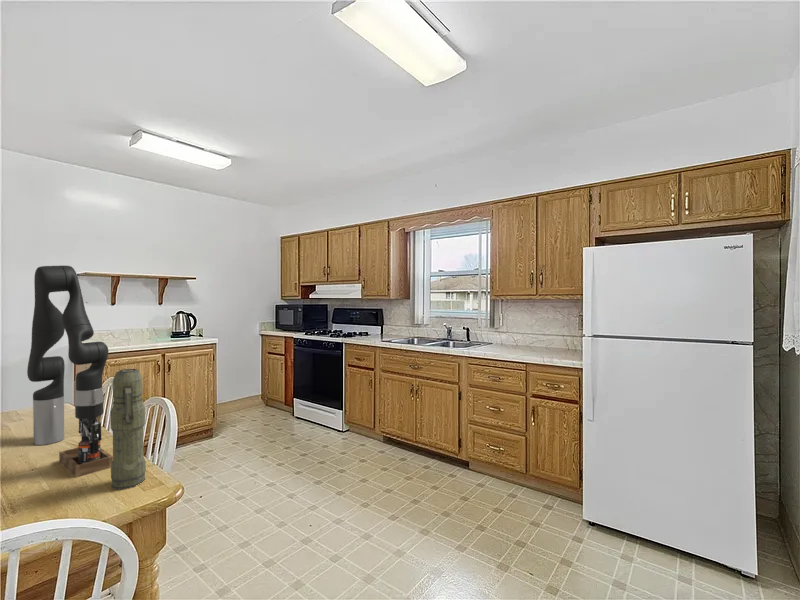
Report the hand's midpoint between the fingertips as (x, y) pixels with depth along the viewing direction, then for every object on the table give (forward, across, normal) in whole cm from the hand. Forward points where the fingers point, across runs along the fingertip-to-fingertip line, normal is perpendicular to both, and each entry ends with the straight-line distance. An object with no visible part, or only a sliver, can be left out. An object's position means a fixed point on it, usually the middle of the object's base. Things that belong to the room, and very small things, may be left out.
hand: (89, 449), depth 136 cm
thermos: (+6, +22, +4) cm, 23 cm away
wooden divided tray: (+6, -4, 0) cm, 7 cm away
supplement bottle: (+6, 0, 0) cm, 6 cm away
